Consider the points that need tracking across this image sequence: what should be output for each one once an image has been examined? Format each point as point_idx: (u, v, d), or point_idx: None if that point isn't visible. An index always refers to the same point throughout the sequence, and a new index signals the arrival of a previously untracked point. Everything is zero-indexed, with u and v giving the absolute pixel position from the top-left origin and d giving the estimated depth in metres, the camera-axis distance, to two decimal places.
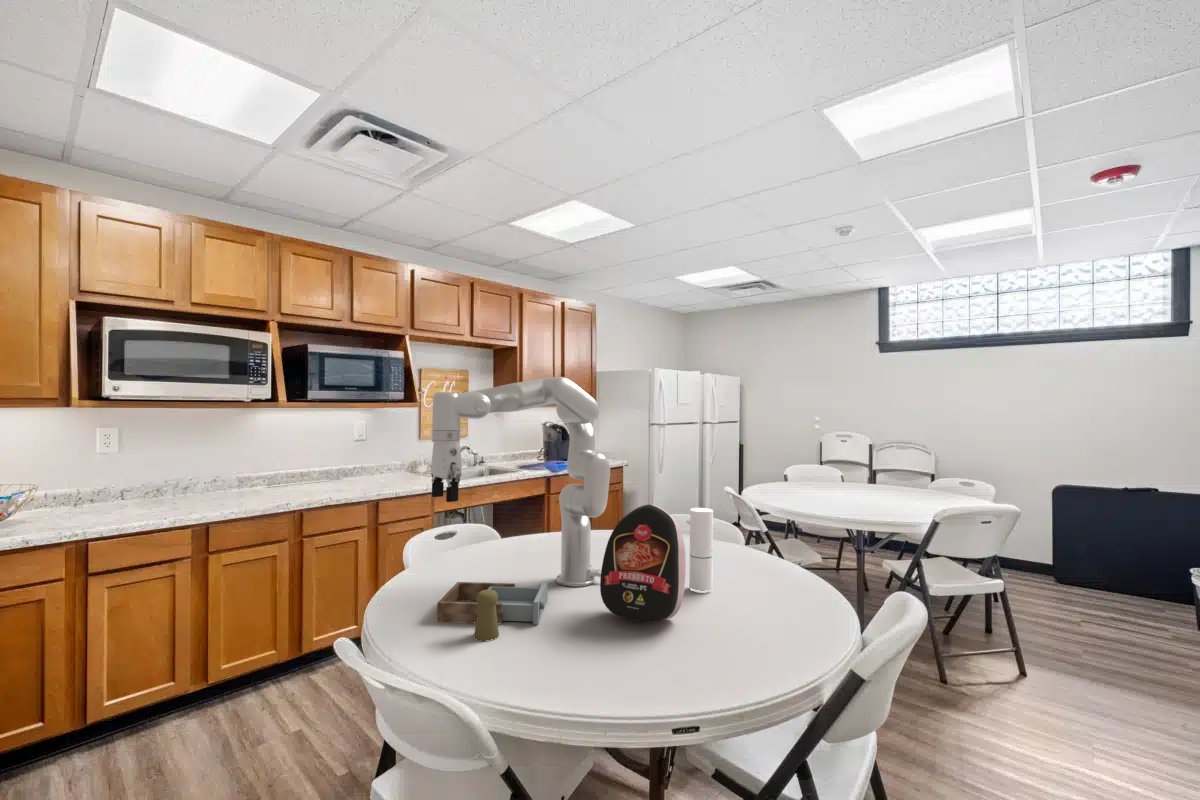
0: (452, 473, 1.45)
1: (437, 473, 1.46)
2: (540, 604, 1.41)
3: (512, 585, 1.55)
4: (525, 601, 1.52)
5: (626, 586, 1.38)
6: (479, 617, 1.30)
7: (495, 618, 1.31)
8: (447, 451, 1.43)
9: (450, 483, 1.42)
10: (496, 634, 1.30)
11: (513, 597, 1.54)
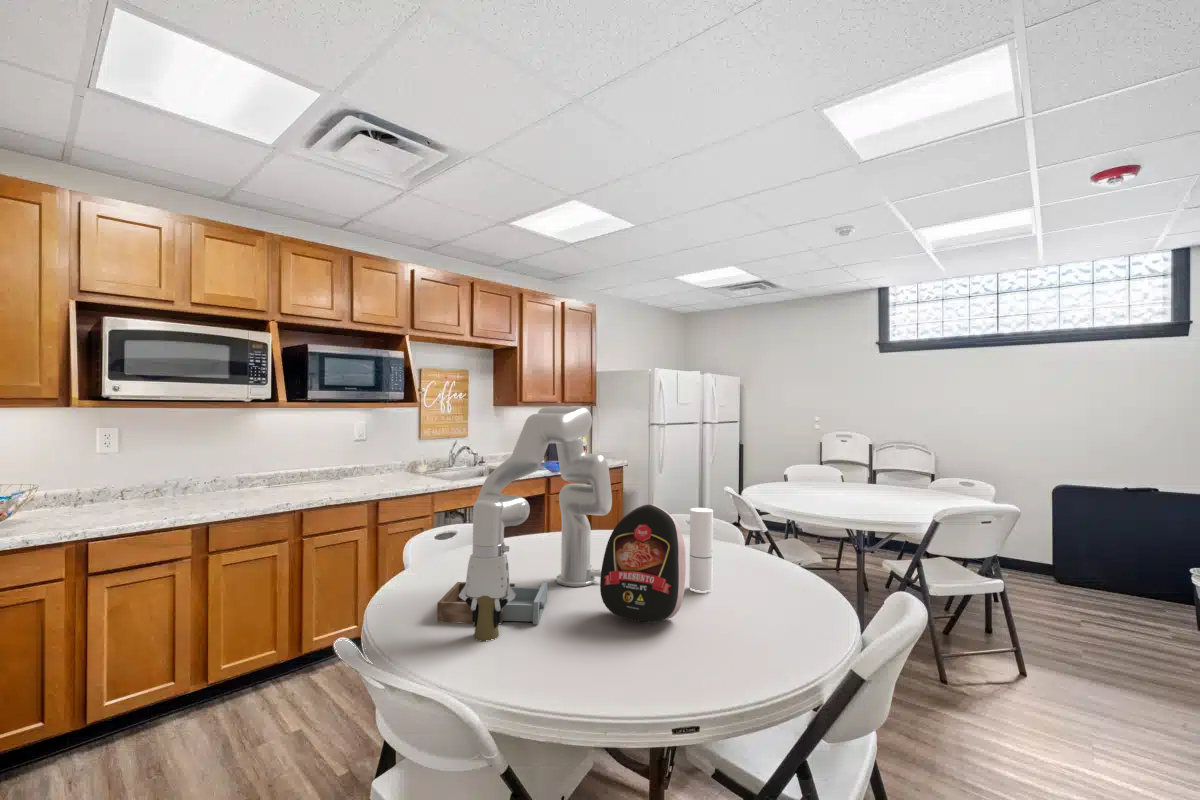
0: None
1: (484, 594, 1.29)
2: (540, 604, 1.41)
3: (512, 585, 1.55)
4: (525, 601, 1.52)
5: (626, 586, 1.38)
6: (479, 617, 1.30)
7: None
8: (504, 567, 1.30)
9: (500, 607, 1.30)
10: (496, 634, 1.30)
11: None
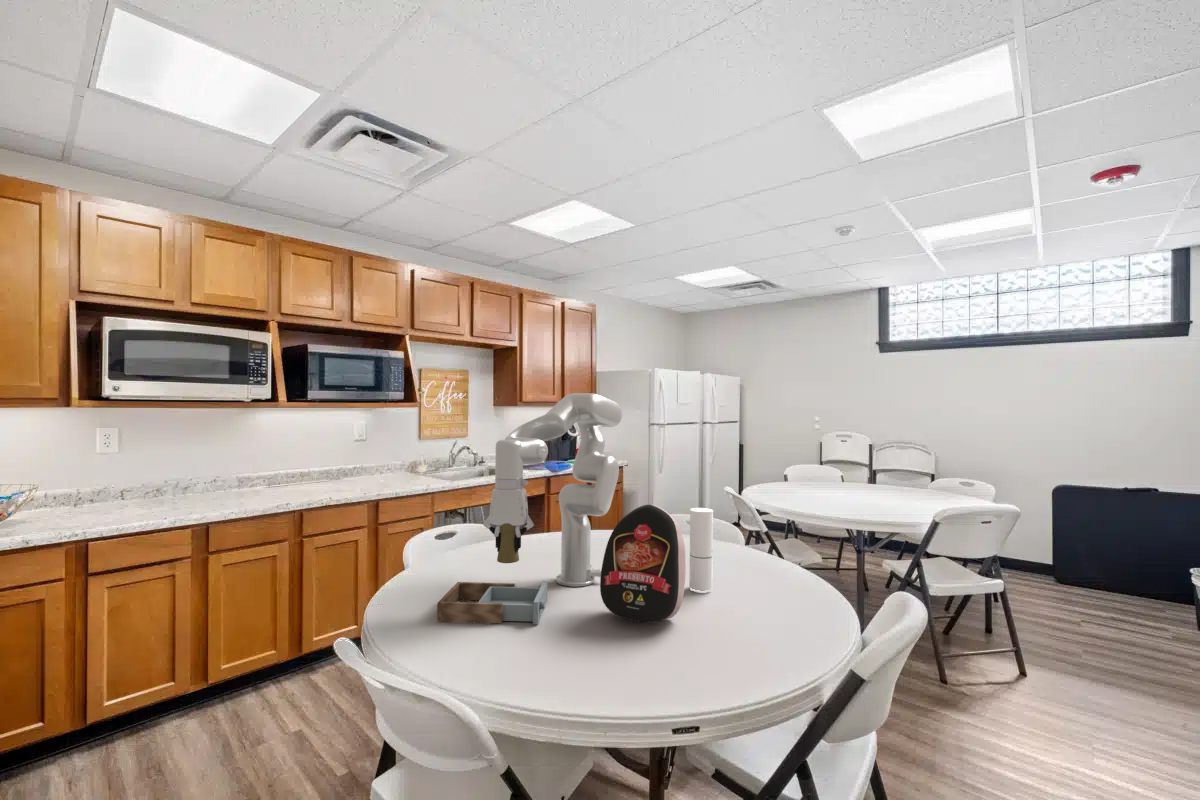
0: None
1: (506, 522, 1.46)
2: (540, 604, 1.41)
3: (512, 585, 1.55)
4: (525, 601, 1.52)
5: (626, 586, 1.38)
6: (502, 542, 1.46)
7: None
8: (523, 498, 1.46)
9: (520, 534, 1.47)
10: (517, 558, 1.47)
11: (513, 597, 1.54)
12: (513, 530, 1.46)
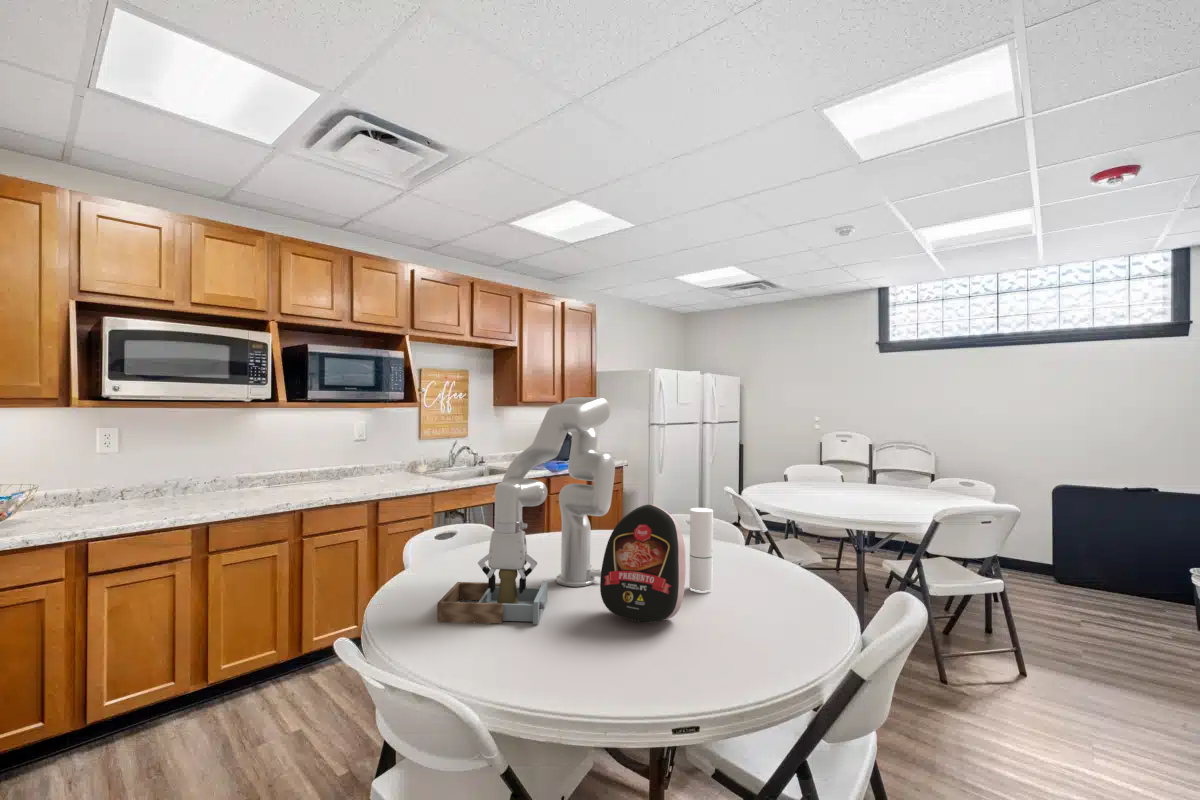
0: None
1: (505, 565, 1.45)
2: (540, 604, 1.41)
3: None
4: (525, 601, 1.52)
5: (626, 587, 1.38)
6: (501, 590, 1.46)
7: (515, 591, 1.47)
8: (522, 542, 1.46)
9: (525, 575, 1.46)
10: None
11: None
12: (513, 578, 1.46)
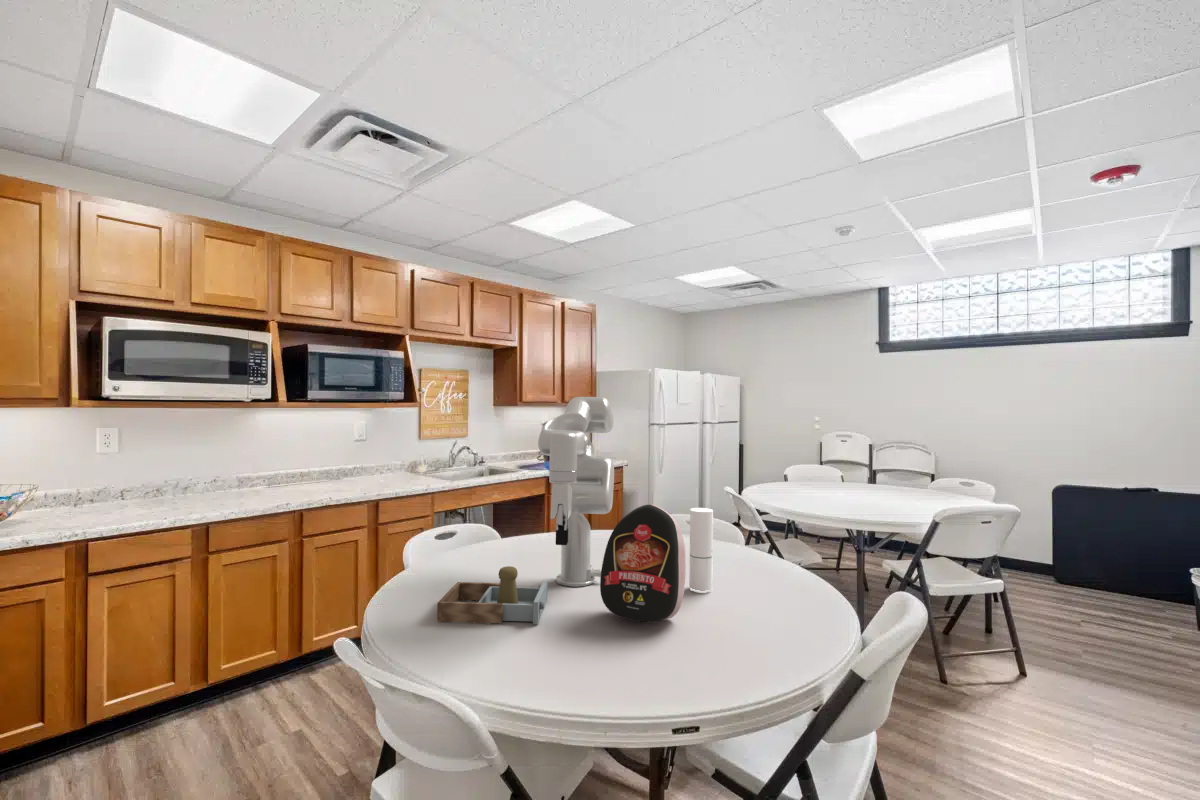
0: None
1: (570, 513, 1.47)
2: (540, 604, 1.41)
3: None
4: (525, 601, 1.52)
5: (626, 586, 1.38)
6: (501, 590, 1.46)
7: (515, 591, 1.47)
8: None
9: None
10: None
11: None
12: (513, 578, 1.46)
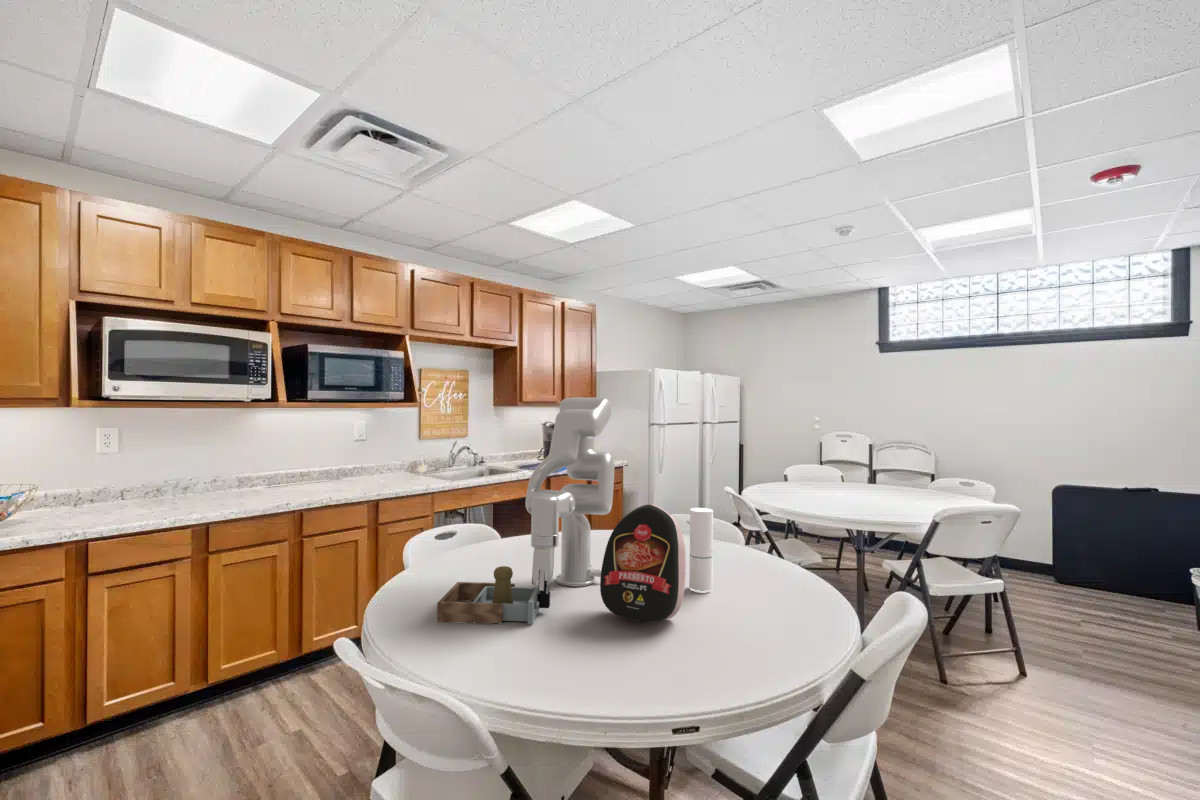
0: None
1: None
2: (535, 604, 1.41)
3: (512, 585, 1.55)
4: (520, 601, 1.52)
5: (626, 586, 1.38)
6: (496, 590, 1.46)
7: (510, 591, 1.47)
8: None
9: None
10: None
11: None
12: (508, 578, 1.46)
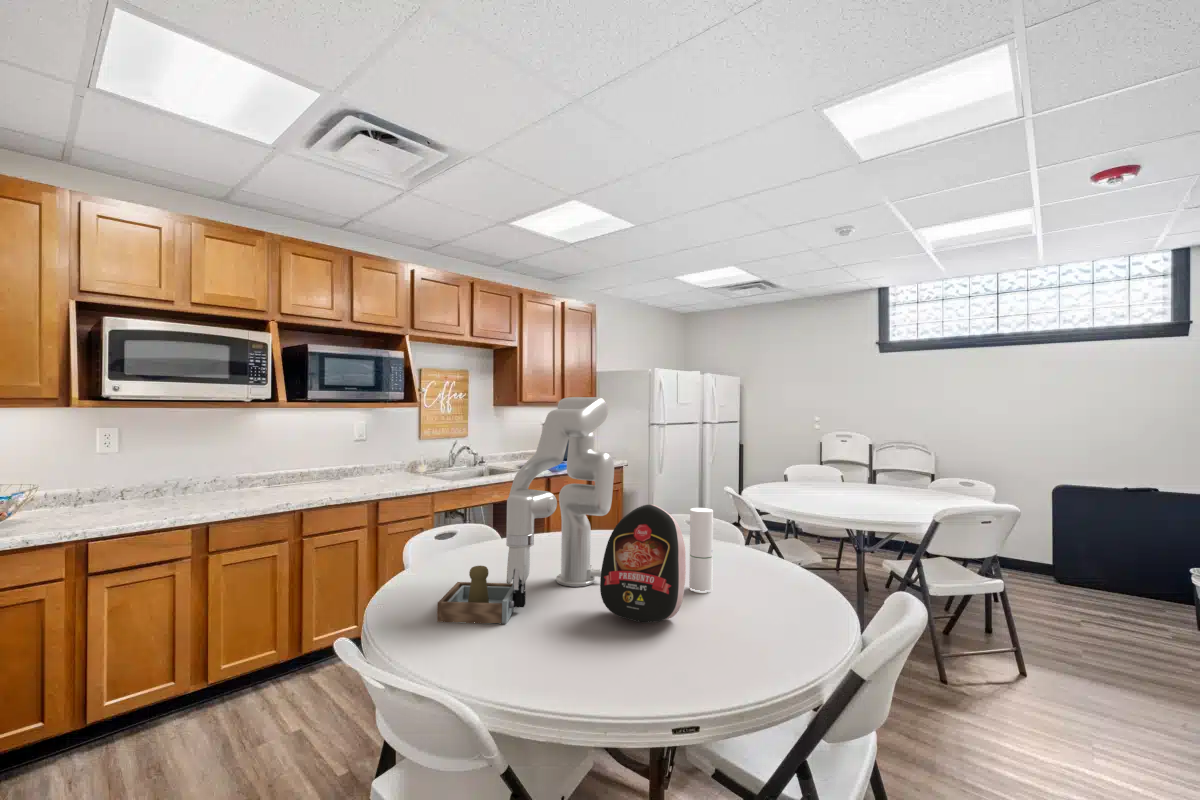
0: None
1: (527, 576, 1.47)
2: (509, 603, 1.41)
3: None
4: (496, 600, 1.53)
5: (626, 586, 1.38)
6: (471, 589, 1.46)
7: (486, 590, 1.47)
8: None
9: None
10: None
11: None
12: (483, 577, 1.46)
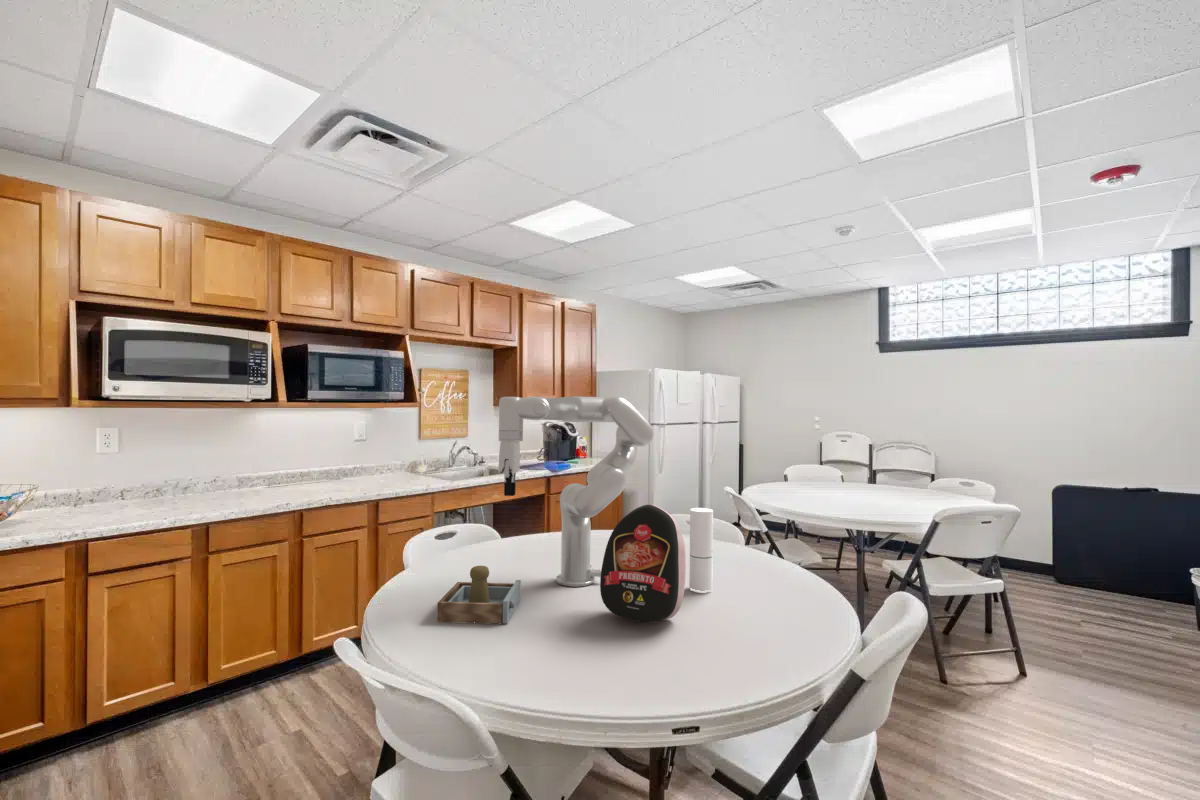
0: None
1: (517, 468, 1.66)
2: (510, 603, 1.41)
3: (512, 585, 1.55)
4: (497, 600, 1.53)
5: (626, 587, 1.38)
6: (472, 589, 1.46)
7: (486, 590, 1.47)
8: None
9: None
10: None
11: None
12: (484, 577, 1.46)
